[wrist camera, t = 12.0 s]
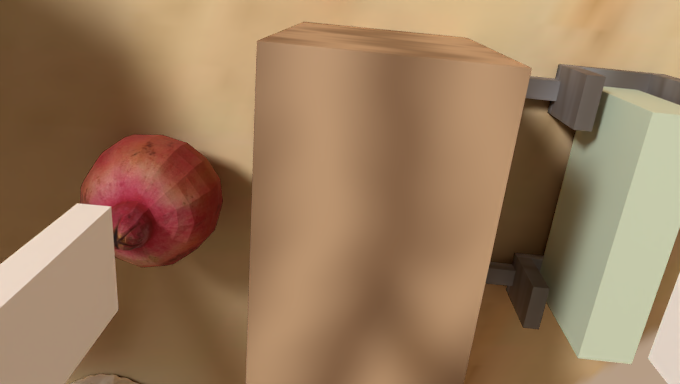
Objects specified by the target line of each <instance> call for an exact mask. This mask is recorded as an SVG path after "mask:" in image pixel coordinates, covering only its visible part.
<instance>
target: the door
mask: <svg viewBox="0 0 680 384" xmlns="http://www.w3.org/2000/svg"><path fill="white" fill-rule="evenodd" d="M679 228H680V105H678V104H675V103H673V102H670V101H667V100H664V99H662V98H659V97H656V96H653V95H650V94H648V93H645V92H642V91H639V90H635V89H625V88H615V87H605V86H604V87H603V91H602V94H601V98H600V102H599V106H598V109H597V113H596V117H595V121H594V124H593V128H592V132H591V131H581V130H576V132H575V136H574V140H573V144H572V148H571V152H570V156H569V160H568V164H567V167H566V171H565V175H564V179H563V183H562V187H561V191H560V195H559V199H558V203H557V207H556V210H555V214H554V218H553V222H552V226H551V230H550V234H549V238H548V242H547V246H546V250H545V253H544V257H543V261H542V265H541V269H540V273H541V275H542V277H543V278H544V280H545V282H546V283H547V285H548V287H549V288H550V289H549V293H548V297H547V301H546V302H547V304H548V306H549V308H550V310H551V311H552V313H553V315H554V317H555V318H556V320H557V322H558V324H559V326H560V327H561V329H562V331H563V333H564V334H565V336H566V338H567V340H568V342H569V343H570V345H571V347H572V349H573V350H574V352H575V354H576V356H577V357H578V358H581V359H590V360H599V361H607V362H616V363H625V364H632V362H633V359H634V356H635V354H636V351H637V348H638V345H639V342H640V339H641V337H642V334H643V331H644V328H645V325H646V322H647V319H648V317H649V314H650V311H651V308H652V305H653V302H654V300H655V297H656V294H657V291H658V288H659V285H660V282H661V280H662V277H663V274H664V271H665V268H666V265H667V263H668V260H669V257H670V254H671V251H672V248H673V245H674V243H675V240H676V237H677V234H678V231H679Z"/></svg>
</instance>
